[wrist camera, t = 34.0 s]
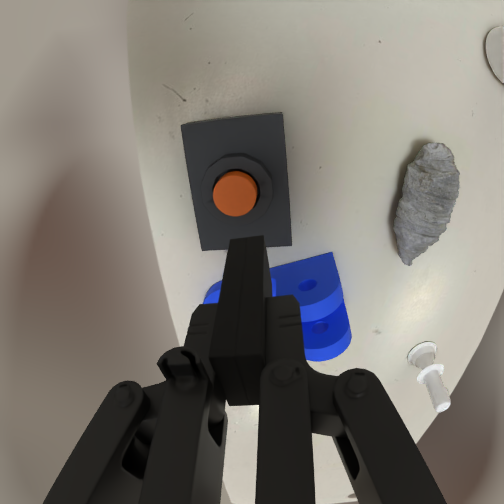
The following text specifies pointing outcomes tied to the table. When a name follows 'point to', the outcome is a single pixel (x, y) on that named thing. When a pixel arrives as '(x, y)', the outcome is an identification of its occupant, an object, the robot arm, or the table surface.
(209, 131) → the push button base
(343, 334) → the bracket
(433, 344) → the candle
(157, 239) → the table surface
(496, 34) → the beverage can
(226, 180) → the switch
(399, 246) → the grey ridged oval piece
